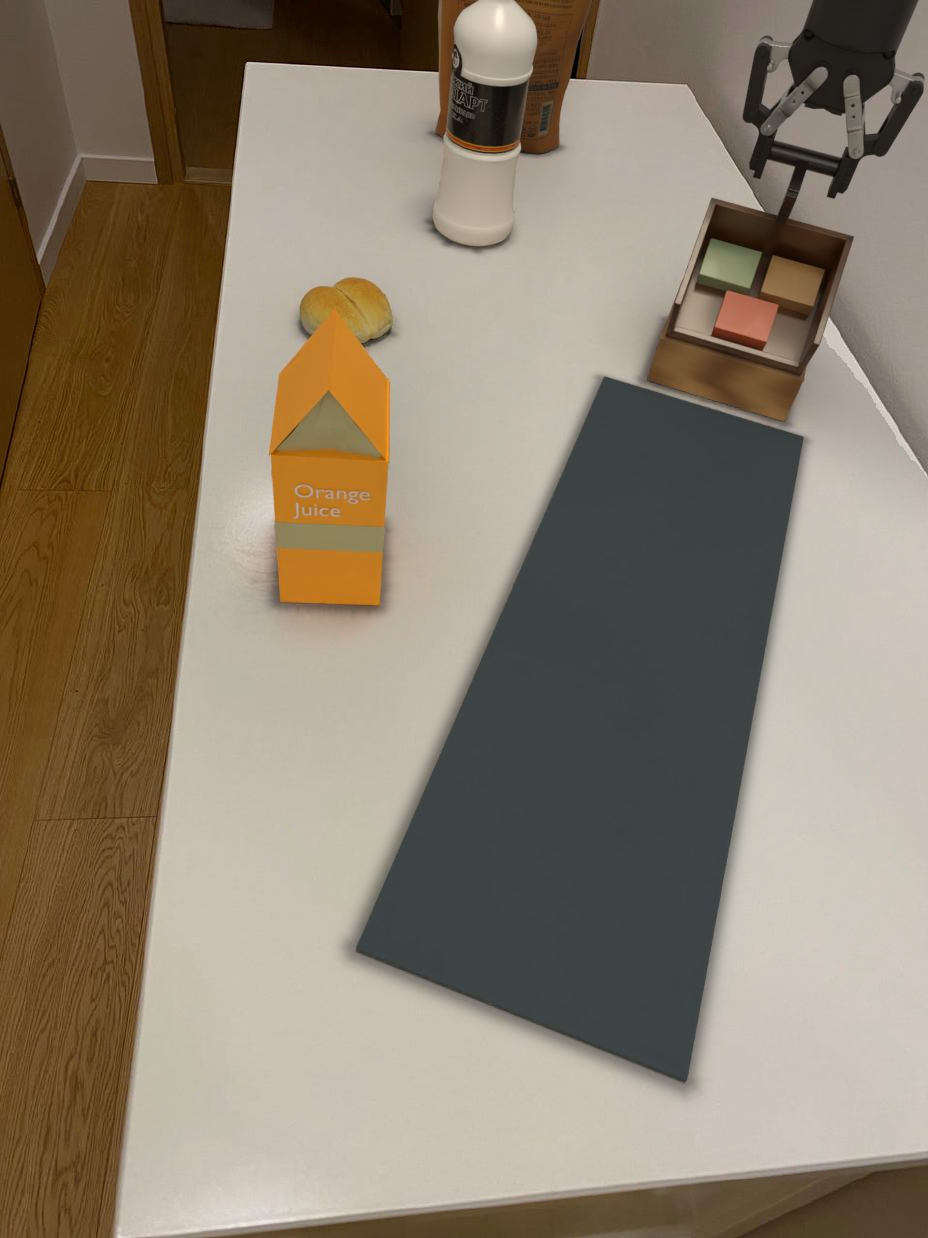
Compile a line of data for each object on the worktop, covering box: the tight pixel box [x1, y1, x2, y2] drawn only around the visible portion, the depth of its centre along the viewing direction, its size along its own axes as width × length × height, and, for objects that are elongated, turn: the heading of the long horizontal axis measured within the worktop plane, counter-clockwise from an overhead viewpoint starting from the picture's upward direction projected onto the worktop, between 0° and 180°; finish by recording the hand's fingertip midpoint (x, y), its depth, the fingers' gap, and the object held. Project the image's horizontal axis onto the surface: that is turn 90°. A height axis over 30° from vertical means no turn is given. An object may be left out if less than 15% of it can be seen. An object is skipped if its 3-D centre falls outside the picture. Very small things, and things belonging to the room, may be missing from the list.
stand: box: [646, 281, 807, 422], centre depth 95 cm, size 14×12×5 cm
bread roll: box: [299, 276, 394, 345], centre depth 93 cm, size 8×9×4 cm
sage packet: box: [696, 238, 762, 296], centre depth 90 cm, size 5×4×2 cm
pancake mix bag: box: [434, 0, 593, 155], centre depth 113 cm, size 7×19×28 cm, turn 90°
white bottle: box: [432, 0, 537, 247], centre depth 98 cm, size 9×9×30 cm
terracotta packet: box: [711, 290, 779, 350], centre depth 89 cm, size 5×4×2 cm
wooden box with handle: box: [665, 139, 855, 376], centre depth 86 cm, size 13×15×10 cm
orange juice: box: [268, 307, 391, 606], centre depth 67 cm, size 8×9×20 cm
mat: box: [355, 376, 805, 1082], centre depth 73 cm, size 20×61×1 cm, turn 161°
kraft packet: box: [757, 255, 825, 315], centre depth 89 cm, size 5×4×2 cm
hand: (794, 183), depth 84 cm, fingers closed on wooden box with handle, 6 cm apart
